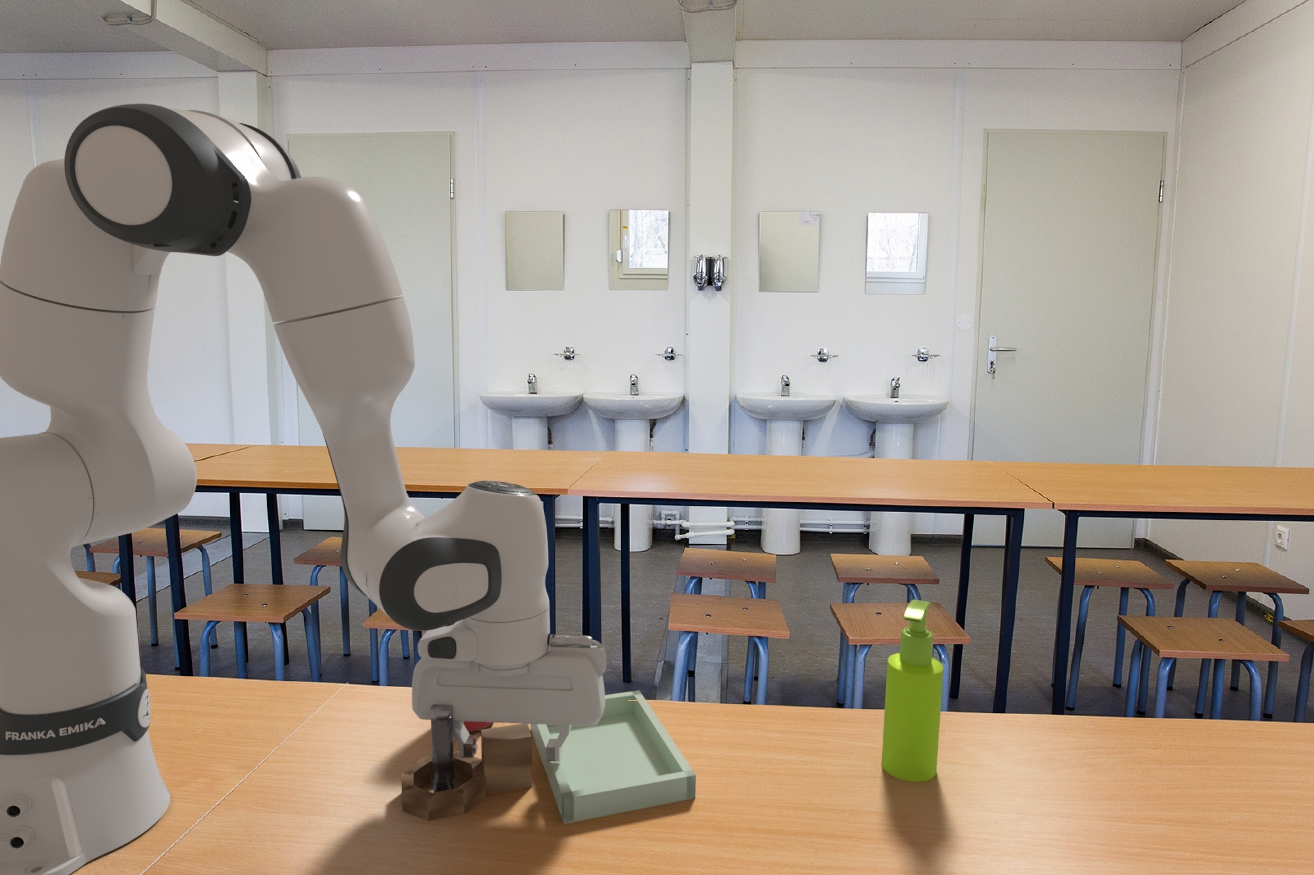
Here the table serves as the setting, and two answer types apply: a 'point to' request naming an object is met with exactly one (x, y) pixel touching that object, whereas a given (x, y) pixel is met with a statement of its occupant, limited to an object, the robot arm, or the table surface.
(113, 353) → the robot arm
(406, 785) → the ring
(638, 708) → the tray
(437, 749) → the dark grey metal cylinder
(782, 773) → the table surface
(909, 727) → the soap dispenser
